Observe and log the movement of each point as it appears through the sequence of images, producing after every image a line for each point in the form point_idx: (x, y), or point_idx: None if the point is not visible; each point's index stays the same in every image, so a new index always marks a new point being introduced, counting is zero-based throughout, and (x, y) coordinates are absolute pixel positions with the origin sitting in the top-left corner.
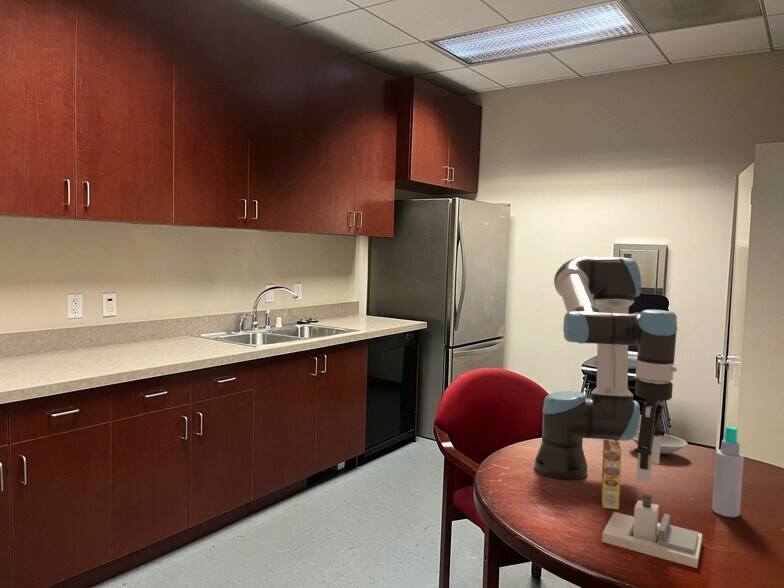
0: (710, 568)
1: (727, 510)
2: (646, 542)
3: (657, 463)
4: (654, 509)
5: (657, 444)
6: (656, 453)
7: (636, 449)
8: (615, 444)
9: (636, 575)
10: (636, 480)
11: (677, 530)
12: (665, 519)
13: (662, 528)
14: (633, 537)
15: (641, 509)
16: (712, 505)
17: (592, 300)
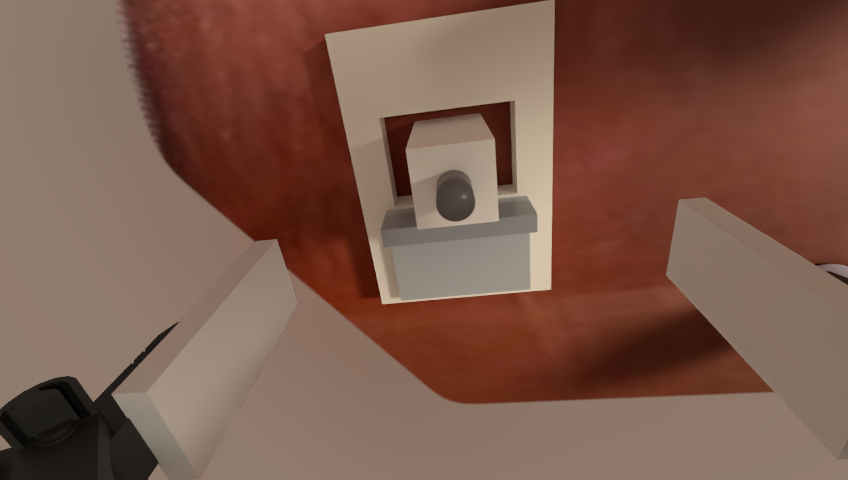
0: (408, 310)
1: None
2: (373, 181)
3: (670, 269)
4: (441, 218)
5: (773, 366)
6: (713, 304)
7: (8, 429)
8: None
9: (228, 188)
10: (254, 243)
11: (500, 244)
12: (482, 229)
13: (400, 237)
14: (376, 138)
15: (410, 176)
16: (833, 269)
17: None
